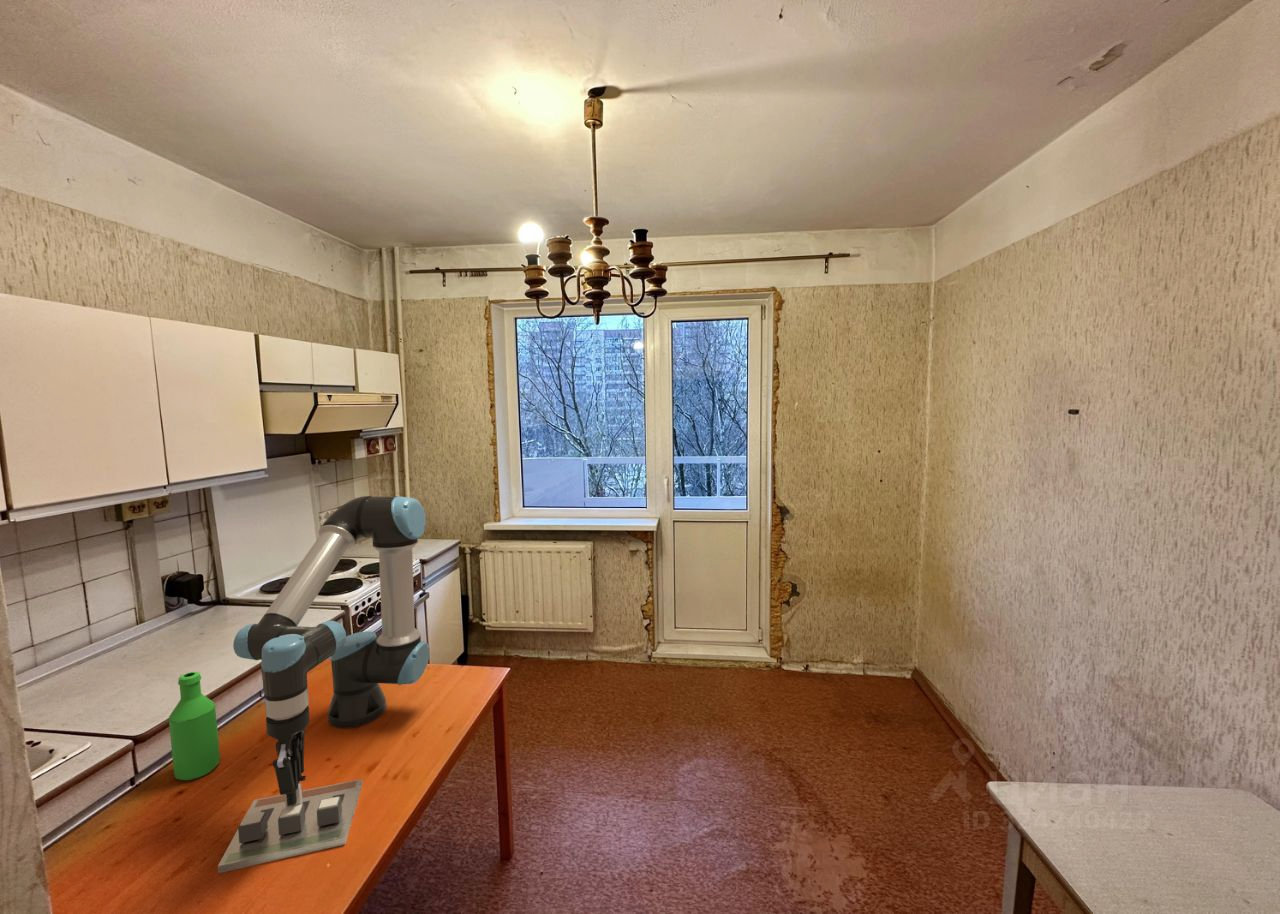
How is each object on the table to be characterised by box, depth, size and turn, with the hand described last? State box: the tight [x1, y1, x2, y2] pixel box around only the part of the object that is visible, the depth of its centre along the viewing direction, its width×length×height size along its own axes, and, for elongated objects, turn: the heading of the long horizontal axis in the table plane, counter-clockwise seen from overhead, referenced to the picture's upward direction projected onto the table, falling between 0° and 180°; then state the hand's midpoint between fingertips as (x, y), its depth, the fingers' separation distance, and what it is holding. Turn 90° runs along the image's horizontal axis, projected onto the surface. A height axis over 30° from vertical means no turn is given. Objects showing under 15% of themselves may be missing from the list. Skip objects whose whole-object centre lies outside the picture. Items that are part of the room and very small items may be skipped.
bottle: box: [168, 671, 221, 781], centre depth 130 cm, size 9×9×25 cm
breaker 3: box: [317, 797, 342, 826], centre depth 113 cm, size 3×4×4 cm
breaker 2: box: [278, 805, 305, 835], centre depth 111 cm, size 3×4×4 cm
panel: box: [217, 778, 363, 874], centre depth 114 cm, size 18×22×2 cm
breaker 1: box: [237, 812, 268, 843], centre depth 109 cm, size 3×4×4 cm
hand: (294, 814), depth 113 cm, fingers closed
